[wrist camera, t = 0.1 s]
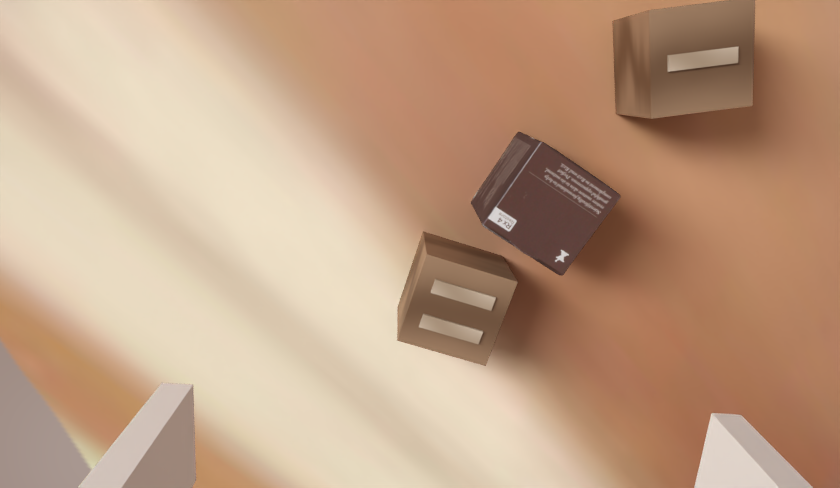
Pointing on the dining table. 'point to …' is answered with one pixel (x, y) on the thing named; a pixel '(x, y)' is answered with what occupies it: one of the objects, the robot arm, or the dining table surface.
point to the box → (542, 202)
